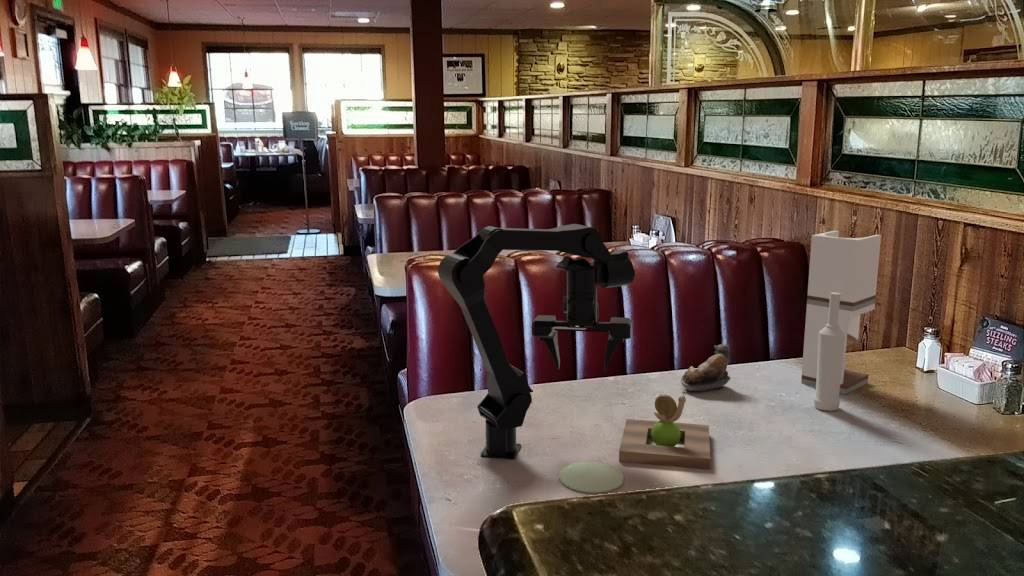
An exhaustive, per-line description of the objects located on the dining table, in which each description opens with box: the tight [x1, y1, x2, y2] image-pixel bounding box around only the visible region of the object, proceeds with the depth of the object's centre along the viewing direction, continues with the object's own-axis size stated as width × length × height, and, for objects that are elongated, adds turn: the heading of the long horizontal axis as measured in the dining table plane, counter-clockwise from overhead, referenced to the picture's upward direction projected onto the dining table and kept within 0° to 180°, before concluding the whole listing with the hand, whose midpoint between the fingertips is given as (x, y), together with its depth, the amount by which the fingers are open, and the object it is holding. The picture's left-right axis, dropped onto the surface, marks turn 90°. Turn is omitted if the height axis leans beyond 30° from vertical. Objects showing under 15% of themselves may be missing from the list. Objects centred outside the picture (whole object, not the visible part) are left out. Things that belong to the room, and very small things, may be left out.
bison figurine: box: [680, 343, 731, 392], centre depth 179 cm, size 12×7×10 cm, turn 112°
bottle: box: [813, 292, 845, 412], centre depth 165 cm, size 5×5×25 cm
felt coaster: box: [559, 461, 625, 494], centre depth 135 cm, size 11×11×1 cm
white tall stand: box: [800, 230, 882, 395], centre depth 180 cm, size 11×11×35 cm
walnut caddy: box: [618, 418, 711, 470], centre depth 147 cm, size 16×16×2 cm
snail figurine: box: [651, 389, 688, 447], centre depth 146 cm, size 5×6×12 cm
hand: (581, 369), depth 152 cm, fingers open, 9 cm apart
